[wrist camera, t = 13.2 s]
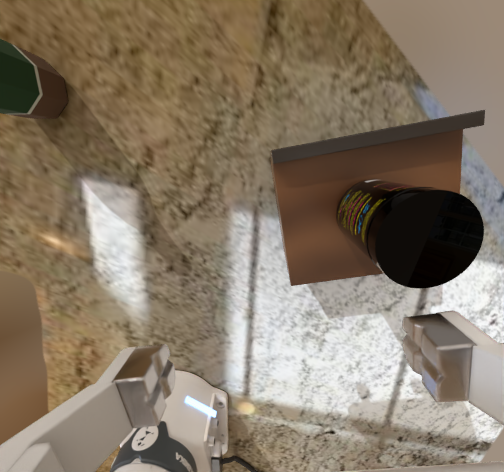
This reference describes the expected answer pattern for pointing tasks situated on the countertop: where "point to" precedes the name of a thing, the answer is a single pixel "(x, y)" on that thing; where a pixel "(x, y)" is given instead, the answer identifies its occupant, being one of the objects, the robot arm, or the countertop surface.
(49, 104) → the beer bottle
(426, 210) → the supplement container
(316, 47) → the countertop surface
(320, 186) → the wooden stand
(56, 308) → the countertop surface
